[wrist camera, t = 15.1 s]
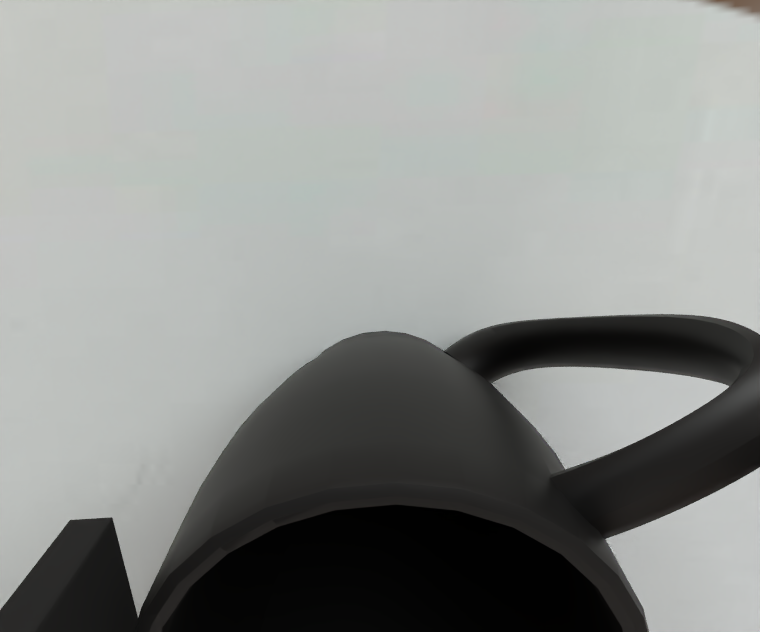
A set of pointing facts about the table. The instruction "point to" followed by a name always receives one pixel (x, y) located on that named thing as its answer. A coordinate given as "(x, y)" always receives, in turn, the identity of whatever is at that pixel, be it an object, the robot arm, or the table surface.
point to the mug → (449, 487)
